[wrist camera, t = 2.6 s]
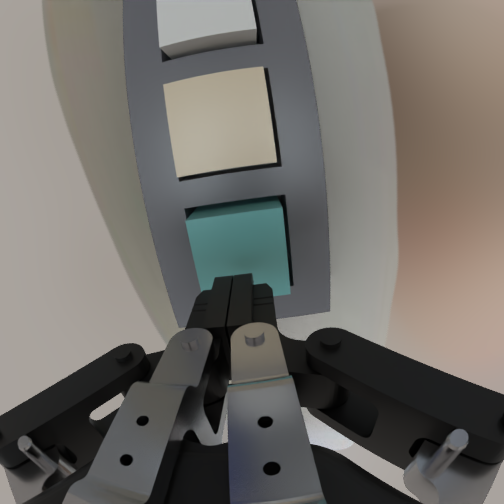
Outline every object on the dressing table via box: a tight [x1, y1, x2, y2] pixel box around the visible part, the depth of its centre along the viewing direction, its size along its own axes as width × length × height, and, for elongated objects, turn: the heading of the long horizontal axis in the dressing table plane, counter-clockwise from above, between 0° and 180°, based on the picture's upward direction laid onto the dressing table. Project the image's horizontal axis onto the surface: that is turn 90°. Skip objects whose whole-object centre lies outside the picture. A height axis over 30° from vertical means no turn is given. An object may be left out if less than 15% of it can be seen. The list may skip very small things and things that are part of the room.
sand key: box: [163, 66, 277, 177], centre depth 13 cm, size 5×5×4 cm
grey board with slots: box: [123, 0, 330, 328], centre depth 15 cm, size 24×10×4 cm, turn 8°
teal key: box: [185, 195, 291, 296], centre depth 16 cm, size 5×5×4 cm
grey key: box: [156, 0, 257, 60], centre depth 11 cm, size 5×5×4 cm
